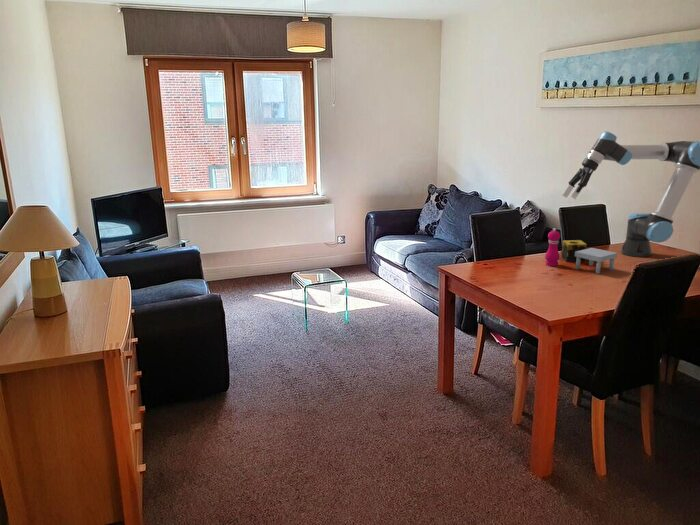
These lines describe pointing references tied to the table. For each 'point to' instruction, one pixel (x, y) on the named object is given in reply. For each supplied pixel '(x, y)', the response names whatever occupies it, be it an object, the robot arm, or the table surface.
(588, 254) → the stool
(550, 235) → the pepper mill
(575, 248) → the yellow and black cube
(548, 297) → the table surface
